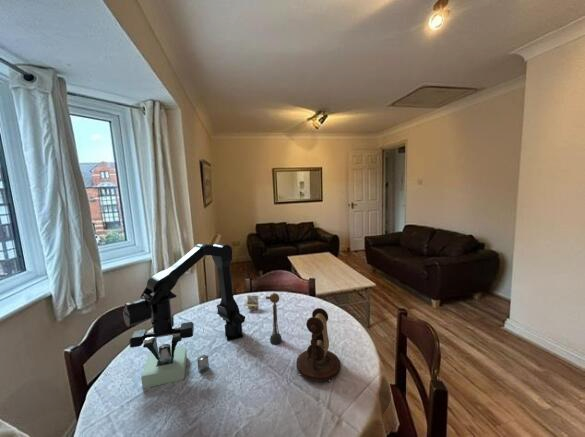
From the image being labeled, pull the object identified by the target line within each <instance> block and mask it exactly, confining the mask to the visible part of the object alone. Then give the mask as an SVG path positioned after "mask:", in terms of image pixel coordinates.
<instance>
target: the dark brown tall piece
mask: <svg viewBox="0 0 585 437" xmlns="http://www.w3.org/2000/svg"><path fill="white" fill-rule="evenodd" d="M328 320H329V314H328V312H327V311H326V310H325V309H324V308H321V307H317V308H315V309H313V311H312V313H311V317H310V318H308V319H307V320H306V329H307V330H308V331H309V332H310V334H311V340H310V344H309V345H308V347H307V348H306V349H307V350H305V351H303V352H302V353H300V354H299V355H298V356H297V358H296V361H295V362H296V369H297V372H298V373H299V375H300V374H301V375H300V376H302V377H303V378H306V379H308V380H311V381H317V382H323V381H328V380H330V379H331V380H332V379H333V378H335V377H337V376H338V375H339V373H340V371H341V368H342V365H341V360H340V358H339V357H338V356H337V355H336V354H335V353H333V352H332V351H330V350H329V347H330V340H329V335H328V334H329V333H328V325H327V324H328V323H327V322H328Z"/></svg>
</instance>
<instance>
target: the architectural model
mask: <svg viewBox="0 0 585 437" xmlns="http://www.w3.org/2000/svg"><path fill="white" fill-rule="evenodd" d="M246 297H247V301H246V302H244V304H243V307H247V309H248V310H253V311H256V310H258V309H259V310H260V308H259V306H260V304H259V295H247V296H246Z"/></svg>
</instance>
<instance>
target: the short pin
mask: <svg viewBox="0 0 585 437" xmlns="http://www.w3.org/2000/svg"><path fill="white" fill-rule="evenodd" d="M196 359H197V371H198V373H201V374H202V373H206V372H208V371H209V369H210V364H209V363H210V362H209V356H208V355H207V354H203V355H202V354H201V355H200V356H198V358H196Z"/></svg>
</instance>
